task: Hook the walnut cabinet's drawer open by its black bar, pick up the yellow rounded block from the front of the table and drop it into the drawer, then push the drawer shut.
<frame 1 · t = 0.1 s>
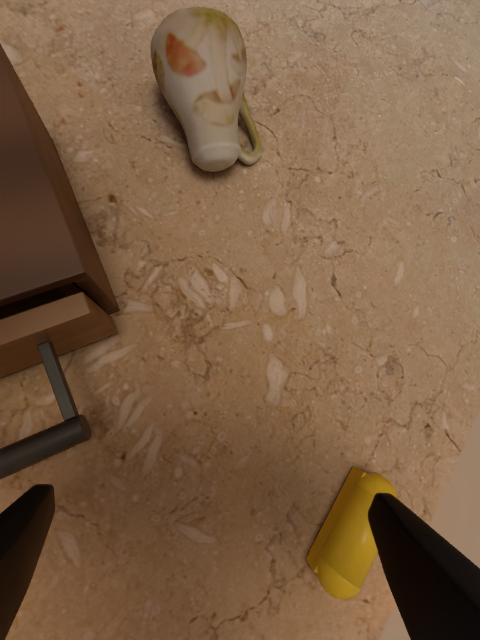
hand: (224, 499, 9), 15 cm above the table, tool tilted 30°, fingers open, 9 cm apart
yellow rounded block: (345, 521, 23), on the table
mug: (208, 131, 28), on the table
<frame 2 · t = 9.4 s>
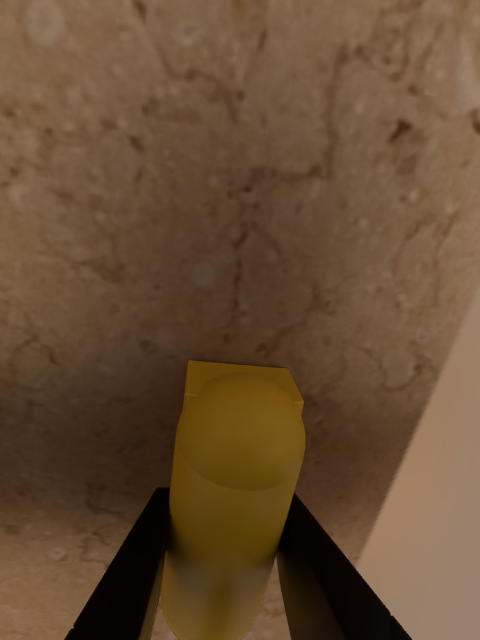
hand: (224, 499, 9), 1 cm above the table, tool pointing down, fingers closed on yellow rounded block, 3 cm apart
yellow rounded block: (222, 464, 10), on the table, touching gripper
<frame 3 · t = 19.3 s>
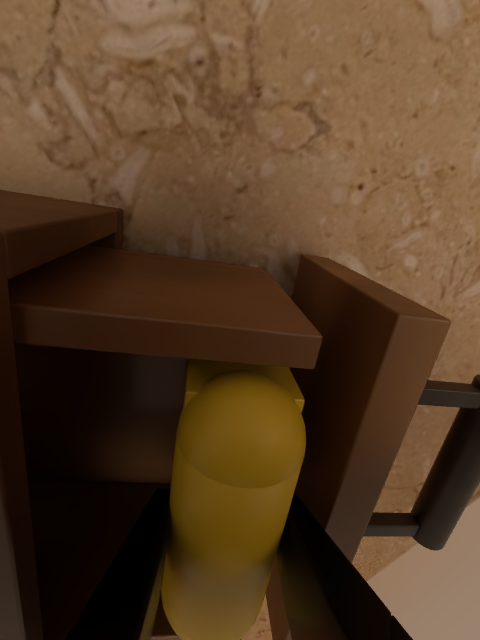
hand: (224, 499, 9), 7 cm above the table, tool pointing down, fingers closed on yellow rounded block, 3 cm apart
yellow rounded block: (222, 463, 10), point 5 cm above the table, touching gripper
drawer: (215, 438, 11), point 4 cm above the table, slide at 6.9 cm
when the fingers open (10 cm above the table, at t = 22.8 s): yellow rounded block drops 6 cm, resting on drawer.
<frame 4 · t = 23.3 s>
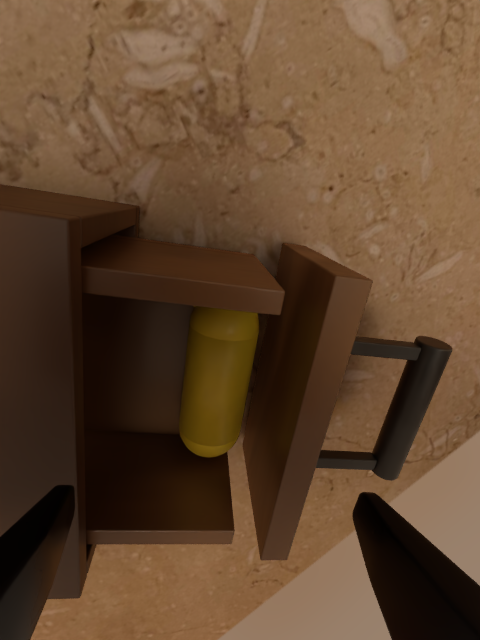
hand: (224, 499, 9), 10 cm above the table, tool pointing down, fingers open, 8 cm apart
yellow rounded block: (215, 360, 16), point 2 cm above the table, touching drawer
drawer: (212, 386, 14), point 4 cm above the table, slide at 6.9 cm, touching yellow rounded block
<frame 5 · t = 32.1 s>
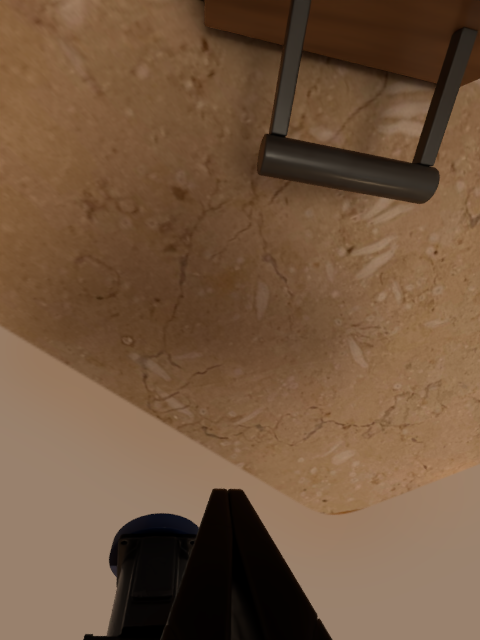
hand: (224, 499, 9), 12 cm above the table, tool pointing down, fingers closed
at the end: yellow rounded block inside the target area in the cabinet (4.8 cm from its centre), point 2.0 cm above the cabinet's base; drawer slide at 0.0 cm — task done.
